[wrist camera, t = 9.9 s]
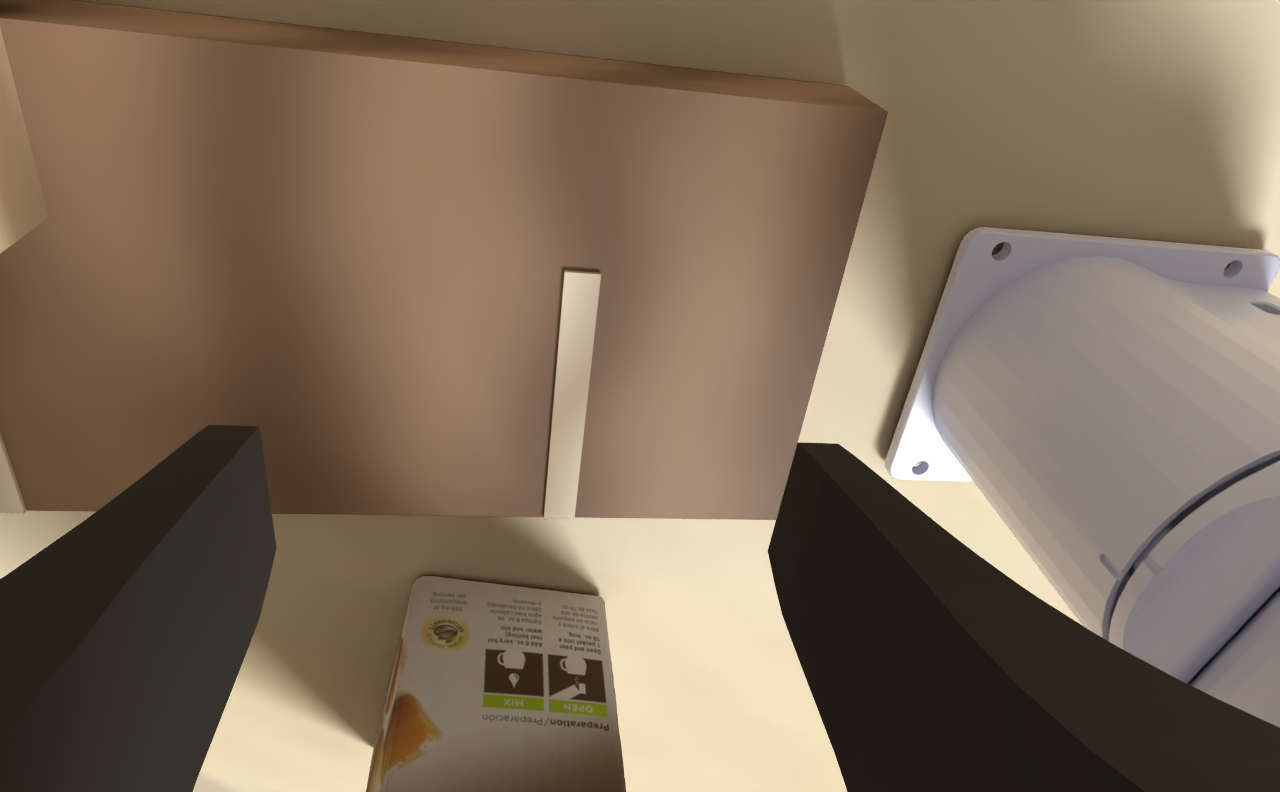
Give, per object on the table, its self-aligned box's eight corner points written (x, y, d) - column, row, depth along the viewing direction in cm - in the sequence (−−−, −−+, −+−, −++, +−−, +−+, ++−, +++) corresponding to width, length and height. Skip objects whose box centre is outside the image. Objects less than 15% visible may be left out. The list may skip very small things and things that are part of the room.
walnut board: (846, 86, 19) (889, 113, 17) (754, 465, 25) (777, 522, 23) (-393, -52, 15) (-547, -39, 13) (-165, 443, 21) (-244, 510, 19)
